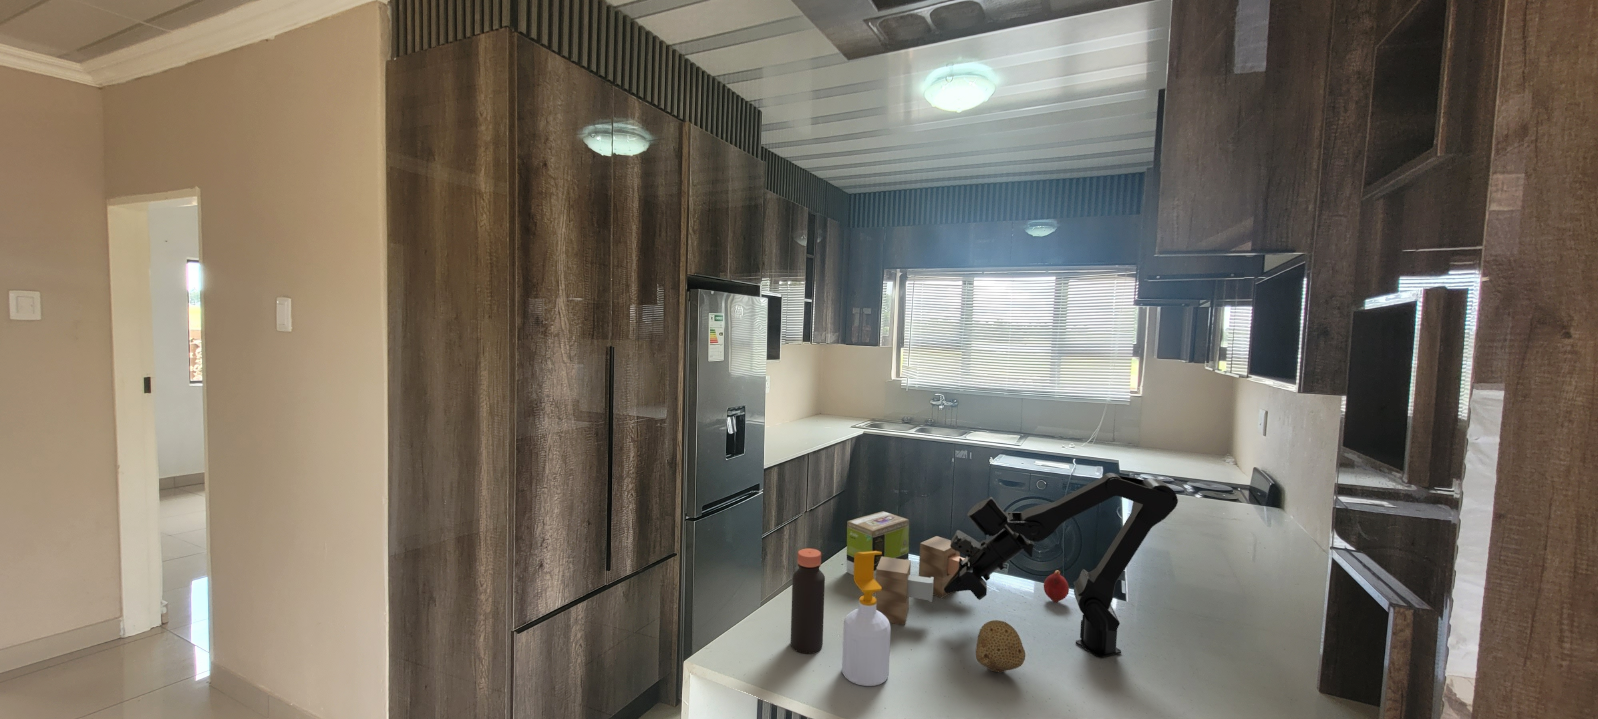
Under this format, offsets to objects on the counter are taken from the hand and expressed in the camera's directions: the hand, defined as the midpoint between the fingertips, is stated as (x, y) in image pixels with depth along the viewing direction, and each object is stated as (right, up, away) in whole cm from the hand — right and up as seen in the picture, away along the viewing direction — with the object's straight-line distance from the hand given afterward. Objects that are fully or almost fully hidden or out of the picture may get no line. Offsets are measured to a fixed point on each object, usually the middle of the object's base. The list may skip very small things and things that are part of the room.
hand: (945, 590), depth 137 cm
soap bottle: (-21, -8, -20) cm, 30 cm away
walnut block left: (-12, -7, +4) cm, 14 cm away
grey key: (-6, -2, +2) cm, 7 cm away
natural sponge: (+6, -9, -19) cm, 22 cm away
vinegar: (-32, -7, -11) cm, 34 cm away
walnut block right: (+3, -7, +19) cm, 20 cm away
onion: (+31, -8, +13) cm, 34 cm away
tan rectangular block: (+7, -2, +15) cm, 16 cm away
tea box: (-12, -6, +28) cm, 31 cm away
